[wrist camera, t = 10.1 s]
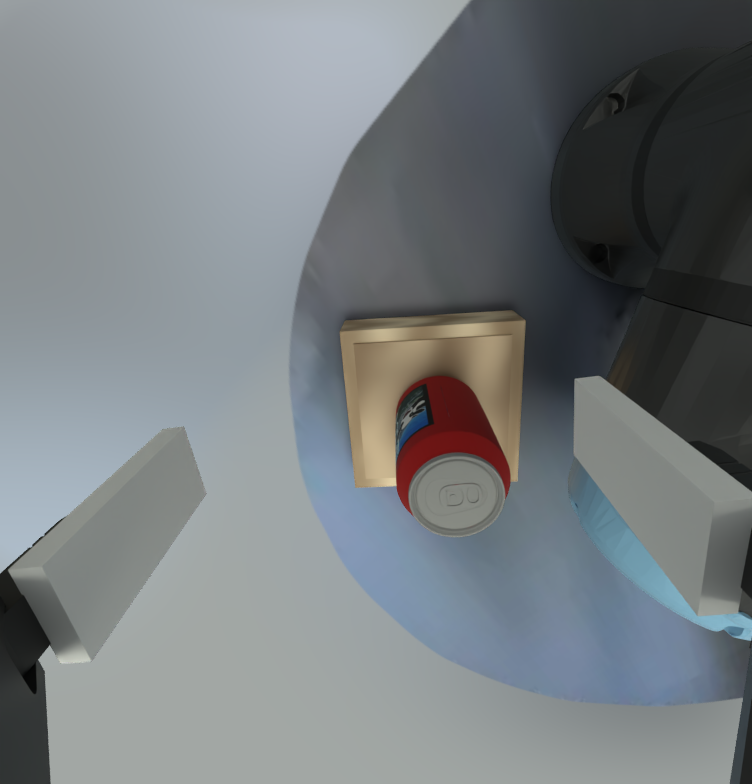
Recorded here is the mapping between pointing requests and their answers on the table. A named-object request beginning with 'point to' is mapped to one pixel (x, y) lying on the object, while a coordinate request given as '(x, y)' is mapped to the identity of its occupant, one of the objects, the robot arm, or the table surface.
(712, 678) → the table surface
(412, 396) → the beverage can
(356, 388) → the square tray
